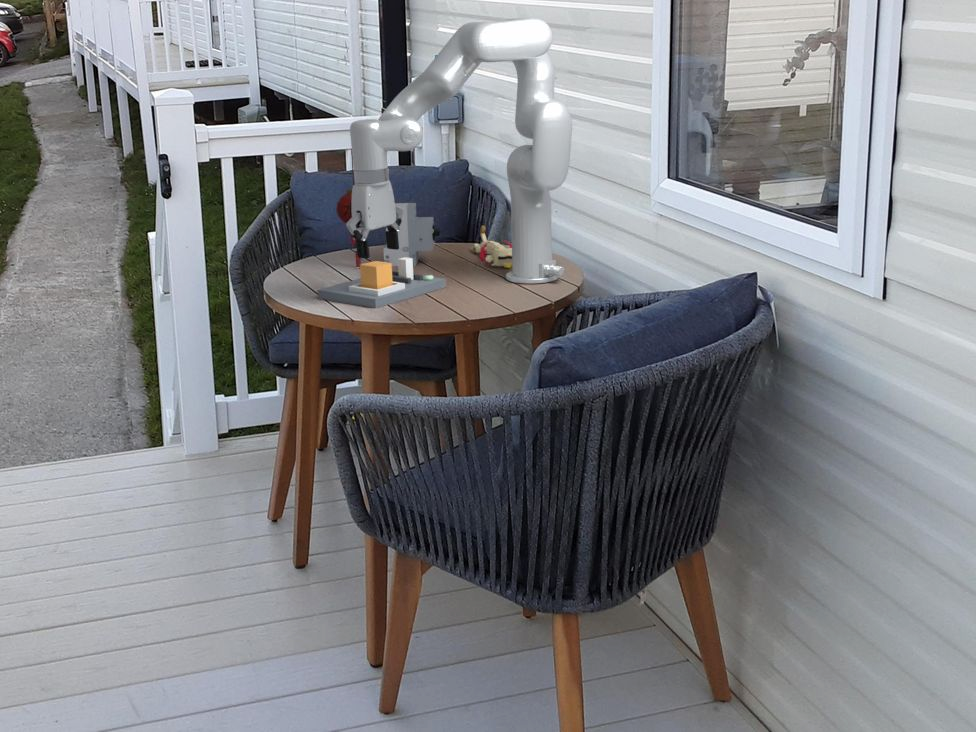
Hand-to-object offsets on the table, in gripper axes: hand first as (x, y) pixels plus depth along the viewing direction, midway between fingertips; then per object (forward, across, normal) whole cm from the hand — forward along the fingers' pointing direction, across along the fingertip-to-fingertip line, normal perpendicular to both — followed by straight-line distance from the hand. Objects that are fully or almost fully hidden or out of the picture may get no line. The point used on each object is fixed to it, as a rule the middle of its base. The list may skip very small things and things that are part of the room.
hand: (378, 253), depth 262 cm
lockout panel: (+10, -4, -4) cm, 12 cm away
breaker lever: (+8, -10, -1) cm, 13 cm away
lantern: (+11, -22, -29) cm, 38 cm away
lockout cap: (+8, +1, 0) cm, 8 cm away
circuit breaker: (+11, -34, -21) cm, 41 cm away
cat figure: (+12, -47, -4) cm, 49 cm away
